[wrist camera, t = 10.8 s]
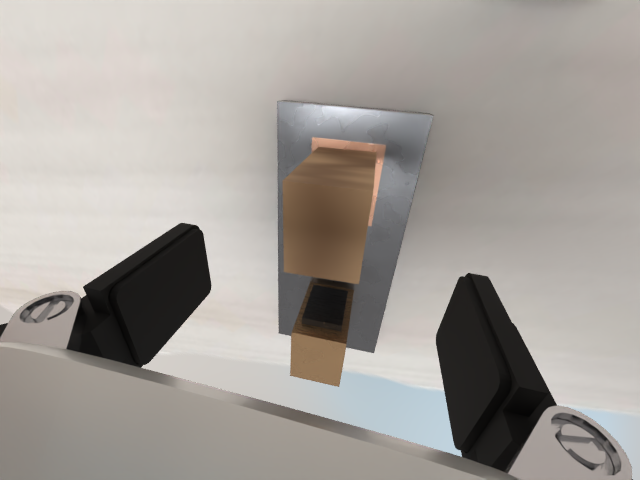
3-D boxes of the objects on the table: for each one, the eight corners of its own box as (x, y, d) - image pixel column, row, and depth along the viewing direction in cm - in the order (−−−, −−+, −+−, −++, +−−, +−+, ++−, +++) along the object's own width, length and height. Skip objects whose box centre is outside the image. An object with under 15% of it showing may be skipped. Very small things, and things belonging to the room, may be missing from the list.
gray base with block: (429, 113, 18) (455, 128, 12) (374, 341, 29) (371, 413, 23) (284, 100, 20) (236, 107, 13) (283, 322, 31) (256, 385, 24)
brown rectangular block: (376, 152, 19) (373, 191, 12) (365, 226, 21) (357, 293, 15) (318, 146, 19) (282, 180, 12) (314, 220, 22) (283, 281, 15)
